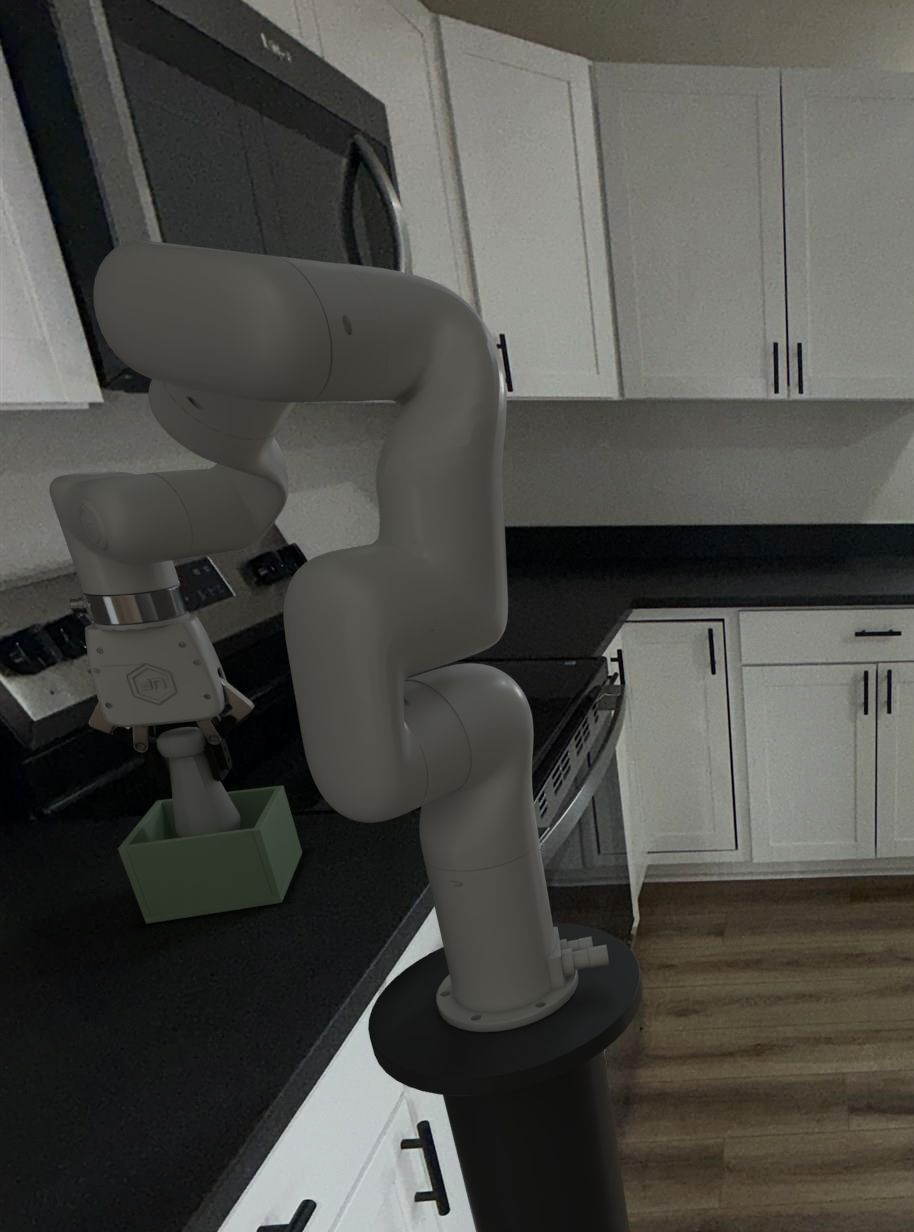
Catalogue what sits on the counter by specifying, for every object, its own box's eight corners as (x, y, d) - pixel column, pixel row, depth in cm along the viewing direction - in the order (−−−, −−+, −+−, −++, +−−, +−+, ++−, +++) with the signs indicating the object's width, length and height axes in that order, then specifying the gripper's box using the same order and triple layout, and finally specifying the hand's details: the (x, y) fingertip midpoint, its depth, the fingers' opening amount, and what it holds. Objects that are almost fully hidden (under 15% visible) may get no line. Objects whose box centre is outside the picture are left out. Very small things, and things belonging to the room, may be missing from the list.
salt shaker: (173, 846, 100) (134, 732, 94) (231, 827, 104) (197, 717, 99) (197, 860, 97) (159, 744, 91) (255, 840, 101) (222, 728, 95)
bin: (302, 852, 110) (283, 785, 106) (282, 902, 99) (259, 829, 95) (180, 870, 106) (156, 800, 102) (145, 924, 95) (117, 848, 92)
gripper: (15, 622, 84) (85, 805, 91) (229, 608, 89) (278, 782, 97) (49, 605, 90) (112, 777, 98) (247, 593, 95) (292, 757, 103)
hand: (194, 778), depth 97 cm, fingers closed on salt shaker, 4 cm apart
